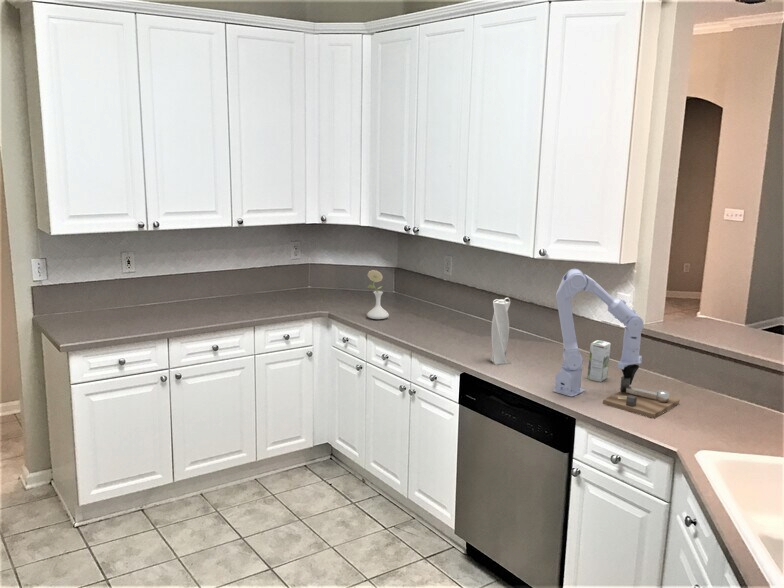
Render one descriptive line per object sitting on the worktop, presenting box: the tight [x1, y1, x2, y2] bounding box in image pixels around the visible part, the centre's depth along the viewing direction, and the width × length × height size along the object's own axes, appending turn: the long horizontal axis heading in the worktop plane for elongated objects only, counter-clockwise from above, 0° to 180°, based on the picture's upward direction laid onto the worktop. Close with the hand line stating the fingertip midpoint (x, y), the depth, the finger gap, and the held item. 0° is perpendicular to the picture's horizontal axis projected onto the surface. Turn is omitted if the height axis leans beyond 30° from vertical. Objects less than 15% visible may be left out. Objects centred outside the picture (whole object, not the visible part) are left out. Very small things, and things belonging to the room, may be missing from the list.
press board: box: [602, 386, 680, 419], centre depth 231 cm, size 20×18×4 cm
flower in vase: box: [366, 269, 390, 320], centre depth 344 cm, size 13×11×25 cm
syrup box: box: [586, 339, 612, 383], centre depth 255 cm, size 6×6×14 cm
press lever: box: [619, 376, 670, 402], centre depth 233 cm, size 4×16×5 cm, turn 52°
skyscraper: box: [489, 297, 512, 365], centre depth 273 cm, size 8×8×28 cm
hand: (627, 384), depth 239 cm, fingers closed
